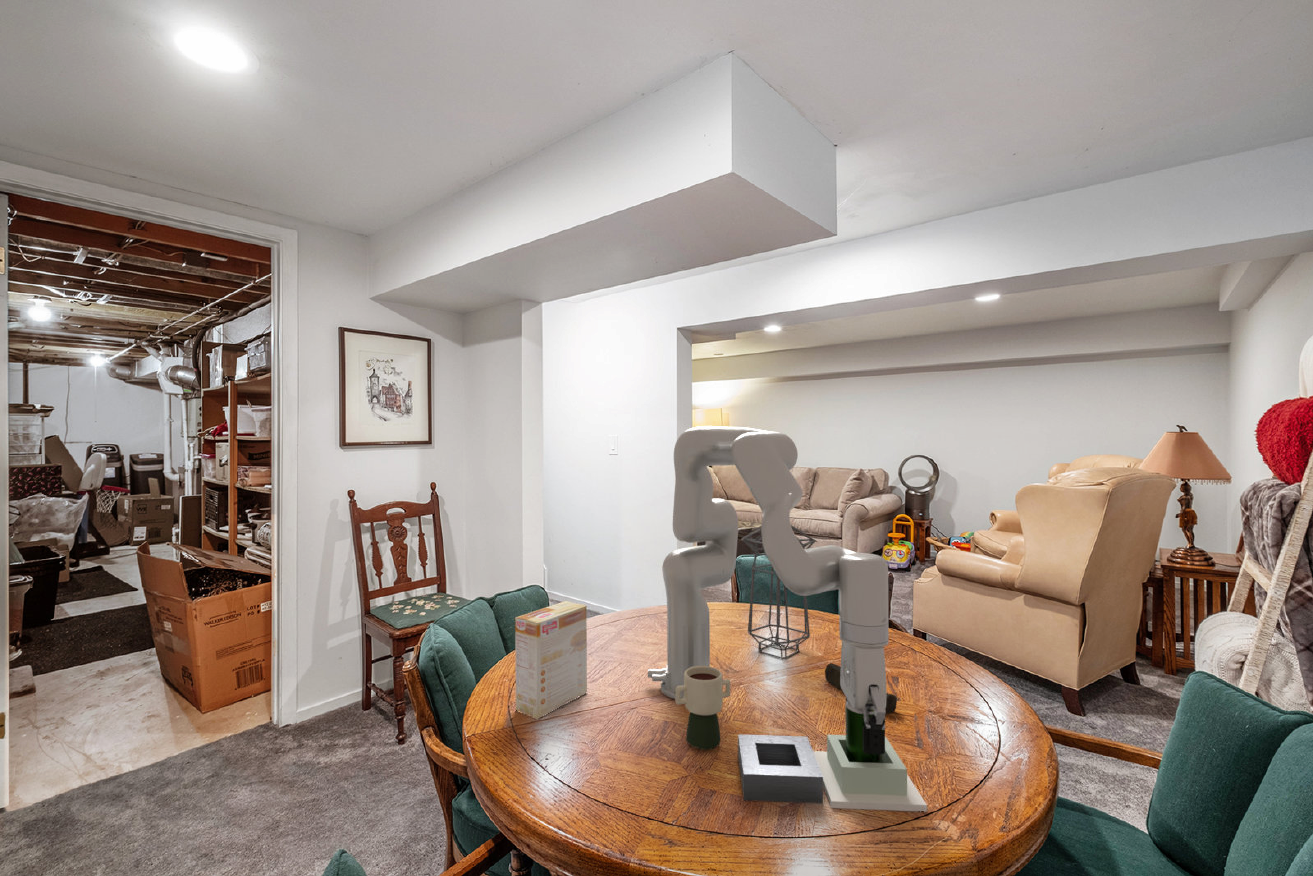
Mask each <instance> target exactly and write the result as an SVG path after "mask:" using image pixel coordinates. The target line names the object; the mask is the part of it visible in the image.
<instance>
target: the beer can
mask: <svg viewBox="0 0 1313 876" xmlns="http://www.w3.org/2000/svg"><path fill="white" fill-rule="evenodd" d="M866 706H873V704H868V703H866ZM844 711H845V715H844V716H845V717H844V718H845V735H846V757H847V759H848V761H849V762H863V763H881V754H866V753H864V751H863V726H865V722H864V717H863V711H862V709H859V710H855V709H854V708H853V707H852V705H851V704H850V702H849V701H848V699H847V702H846V701H845V709H844ZM868 715H869V719H870V718H871V716H872V715H874V712H868Z"/></svg>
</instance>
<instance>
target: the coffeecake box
mask: <svg viewBox="0 0 1313 876" xmlns="http://www.w3.org/2000/svg"><path fill="white" fill-rule="evenodd" d="M514 620H515V622H514V625H515V626H514V627H515V633H514V634H515V639H514V640H515V641H514V642H515V649H514V650H515V711H516V710H517V711H520V712H522V713H524V714H523V715H525V714H528V715H530V716H532V717H534V718H536V719H535V720H537V719H538V718H540V717H542V716H543V715H545V714H547V715H549V714H550V713H549V712H551V711H552V710H554V711H556V710H558V709H560V708H561V707H560V706H562V705H564V704H566V703H567V702H569V701H571V700H573V701H575V700H576V699H575V698H577V697H578V696H581V695H583V694H585V693H586V692H587V693H588V670H587V669H588V668H587V666H588V659H587V657H588V656H587V655H588V654H587V653H588V651H587V649H588V648H587V646H588V645H587V642H588V641H587V640H588V639H587V636H588V635H587V628H588V627H587V626H588V625H587V605H585V604H581V603H577V602H576V603H575V602H573V601H567V600H564V601H561V602H558V603H555V604H553V605H549V606H546V607H543V608H540V609H537V610H534V611H531V612H528V613H525V614H521V615H519V616H516V617H515V618H514ZM585 695H586V694H585ZM583 696H584V695H583ZM581 697H582V696H581ZM574 699H575V700H574ZM577 699H578V698H577ZM571 702H572V701H571ZM569 703H570V702H569ZM566 705H567V704H566ZM564 706H565V705H564ZM559 707H560V708H559ZM562 707H563V706H562ZM557 708H558V709H557ZM555 709H556V710H555ZM517 711H516V712H517ZM522 713H521V714H522ZM548 713H549V714H548ZM551 713H552V712H551ZM528 715H527V716H528ZM530 716H529V717H530ZM545 716H546V715H545ZM532 717H531V718H532ZM543 717H544V716H543ZM543 717H542V718H543ZM534 718H533V719H534ZM540 719H541V718H540ZM538 720H539V719H538Z"/></svg>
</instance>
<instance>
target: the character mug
mask: <svg viewBox="0 0 1313 876" xmlns="http://www.w3.org/2000/svg"><path fill="white" fill-rule="evenodd" d="M724 686H725V691H724V690H723V689H724ZM681 691H684V698H682V699H681V698H680V692H681ZM730 696H731V680H730V679H729V678H724V677H723V673H722V670H720V669H718V668H717V667H713V666H711V665H710V666H694V667H690V668H688V669H687V670H686V671H685V672H684V685H682V686H677V687H676V689H675V699H674V700H675V702H674V703H676V705H684V706H685V709H686V710H687V711H688V712H689V714H688V720H687V728H686V737H685V738H686V742H687V744H689V745H690V746H691V747H694V748H697V749H698V750H705V751H710V750H713V749H716V748H717V747H719V746H720V743H721V730H720V724H719V716H718V714H719V712H721V711H722V707H723V703H724V698H729V697H730Z"/></svg>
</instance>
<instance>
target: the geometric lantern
mask: <svg viewBox="0 0 1313 876" xmlns="http://www.w3.org/2000/svg"><path fill="white" fill-rule="evenodd" d="M791 527H792V530H793V531H795V532H796V533H799V534H800V535H802V536H804V537H805V538H803V539H802V538H801V539H799V538H798V537H797V539H798V541H799V542H800V544H801V546H802V547H803V549H809V548H812V546H813V545H814V544H815V543H817V542H818V540H816V539H814V538H813V537H811V536H809V535H808V534H806V533H805V532H803V531H801V530H800V529H798V528H797V527H795V526H793V525H792V524H791ZM760 531H761V527H760V528H759V529H757V530H755V531H753V532H751V533H749V534H747V535H745V536H743V537H742V538H741V541H742V542H744V543H745V544H746V546H748V547H749V548H750V549H751V550H752V551H753V552H754V558H753V563H752V566H751V568H750V569H751V586H750V587H751V588H750V599H749V611H748V625H747V634H748V635H750V636H751V637H752V638H753V639H754V640H755V641H756V643H758V649H757V651H758V650H759V651H758V652H759V653H760V652H761V654H764V655H768V656H771V657H775V658H778V659H781V660H784V659H788V658H790V657H792V656H793V655H796V654H797V652H798V651H799V652H800V645H801V644H802V643H804V642H805V641H807V640H808V639H809V638H810V637H811V635H810V633H811V632H810V623H809V610H808V600H807V596H803V612H804V613H803V614H804V615H803V617H804V619H803V620H804V630H801V629H797V628H792V627H789V612H788V609H789V608H788V592H787V589H788V588H787V587H786V586H785V585H784V584H783V586H784V587H783V589H784V603H785V604H784V605H785V625H781V619H780V618H781V580H780V578H779V577H778V575H777V573H776V572H774V568H773V566H772V565H771V563H769V564H764V565H759V566H756V561H757V557H758V556H766V557H767V555H766V553H765V550H764V547H763V542H762V533H760V534H759V535H758V536H757V537H756V538H750V537H752V536H753V535H755V534H757V533H758V532H760ZM803 542H805V543H803ZM752 543H753V544H755V545H753V544H752ZM759 544H760V545H761V547H758V545H759ZM759 551H762V552H761V553H760V552H759ZM764 567H771V571H768V570H764V569H759V568H764ZM756 571H757V572H762V573H766V574H771V576H770V590H769V592H770V593H769V609H768V624H766V625H762V626H759V627H756V628H753V627H752V626H753V607H754V606H753V604H754V603H753V602H754V583H755V574H756V573H755V572H756ZM774 575H776V624H771V618H772V604H773V602H772V601H773V585H774V583H773V582H774ZM771 627H776V633H775V636H774V634H773V631H772V628H771ZM765 628H769V631H770V635H771V636H769V637H768V638H767V637H765V636H761V635H758V634H755V633H753V632H756V631H758V630H762V629H765ZM780 628H781V629H782V628H783V629H785V630H786V638H782V637H779V635H780V634H779V633H780ZM789 630H790V631H793V632H798V633H802V634H803V635H802V636H801V637H797V638H795V639H790V631H789ZM757 638H758V639H762V640H760V641H759V640H758V639H757ZM773 639H774V640H773ZM780 640H782V641H780ZM767 641H768V642H770V643H769V644H766V643H764V642H767ZM791 643H795V644H793V645H791V646H789V645H790V644H791ZM772 644H776V645H777V646H778V647H776V646H773V645H772ZM785 644H786V645H785ZM780 645H781V646H780ZM762 646H763V647H762ZM767 646H768V647H769V648H772V649H775V650H779V651H780V656H779V655H775V654H773V653H769V652H765V651H763V650H764V649H765V647H766V648H768V647H767ZM784 646H786V647H784ZM782 647H784V648H782ZM787 647H788V648H787ZM791 648H792V649H791ZM789 649H791V650H795V652H793V653H791V654H789V655H787V653H788V652H787V650H789ZM797 650H798V651H797ZM783 652H784V655H783ZM799 652H798V653H799ZM795 653H796V654H795ZM791 655H792V656H791Z"/></svg>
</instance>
